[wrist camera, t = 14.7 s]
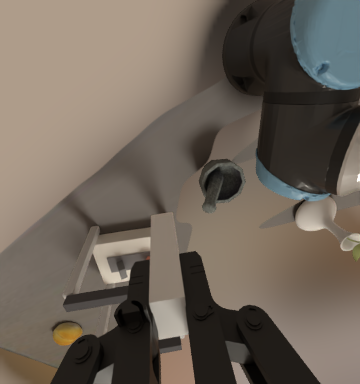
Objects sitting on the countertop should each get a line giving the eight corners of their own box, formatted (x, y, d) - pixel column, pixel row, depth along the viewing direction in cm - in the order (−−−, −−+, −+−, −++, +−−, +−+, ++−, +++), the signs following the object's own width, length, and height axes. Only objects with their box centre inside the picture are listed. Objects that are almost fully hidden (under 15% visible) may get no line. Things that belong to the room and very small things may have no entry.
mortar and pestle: (220, 144, 48) (240, 161, 38) (241, 172, 52) (264, 195, 42) (182, 174, 51) (190, 198, 40) (205, 199, 54) (217, 228, 44)
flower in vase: (297, 232, 63) (374, 312, 41) (287, 205, 58) (369, 279, 36) (339, 212, 62) (443, 284, 40) (332, 182, 57) (448, 245, 34)
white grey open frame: (168, 215, 55) (175, 276, 38) (176, 269, 65) (184, 337, 47) (90, 226, 54) (61, 294, 37) (110, 279, 63) (94, 354, 46)
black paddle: (122, 260, 54) (125, 268, 52) (124, 268, 56) (127, 277, 53) (116, 262, 54) (118, 271, 51) (118, 271, 55) (121, 279, 53)
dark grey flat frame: (170, 278, 38) (171, 287, 36) (180, 340, 47) (181, 349, 45) (66, 295, 36) (62, 305, 35) (98, 355, 46) (96, 365, 44)
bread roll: (87, 325, 72) (84, 338, 69) (72, 338, 75) (68, 351, 71) (65, 317, 69) (60, 330, 65) (50, 331, 71) (44, 344, 68)
